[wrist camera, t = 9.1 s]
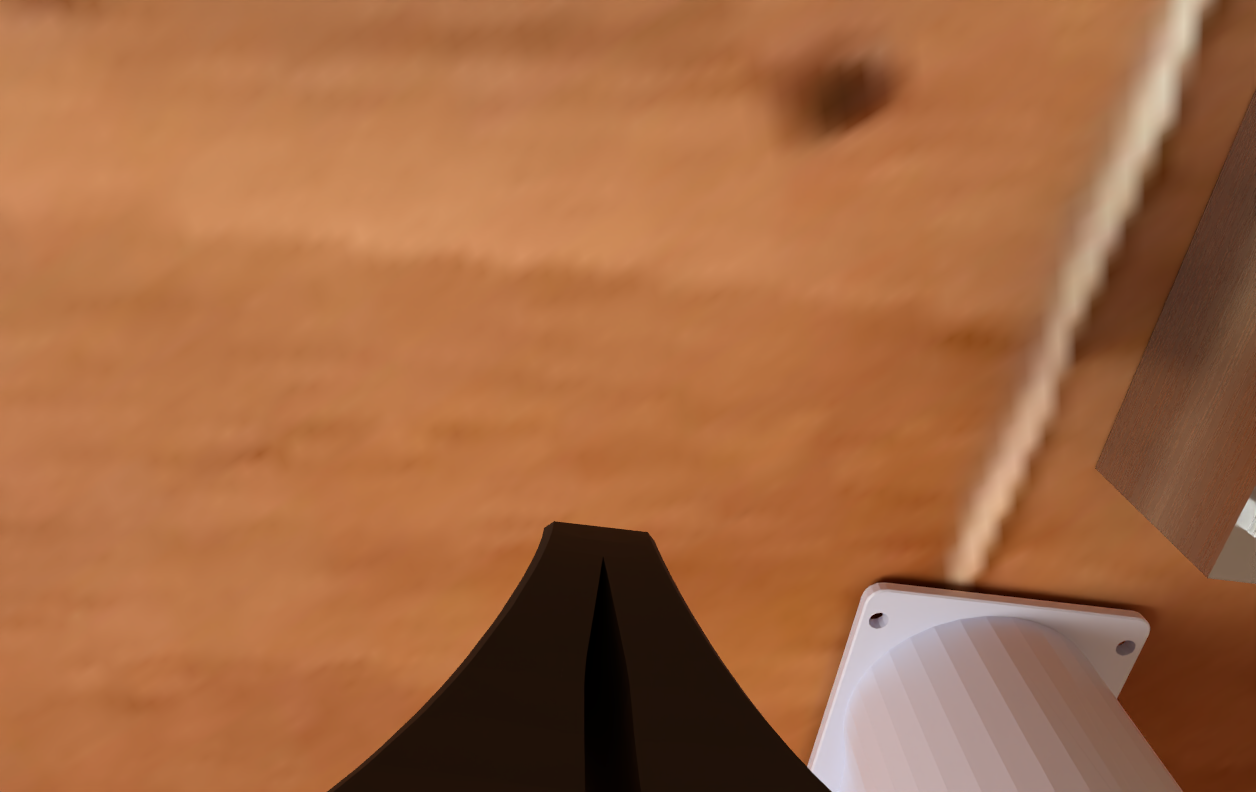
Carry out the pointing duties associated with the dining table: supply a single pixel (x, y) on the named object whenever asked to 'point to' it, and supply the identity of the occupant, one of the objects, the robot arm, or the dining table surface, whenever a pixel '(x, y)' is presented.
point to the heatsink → (1201, 389)
